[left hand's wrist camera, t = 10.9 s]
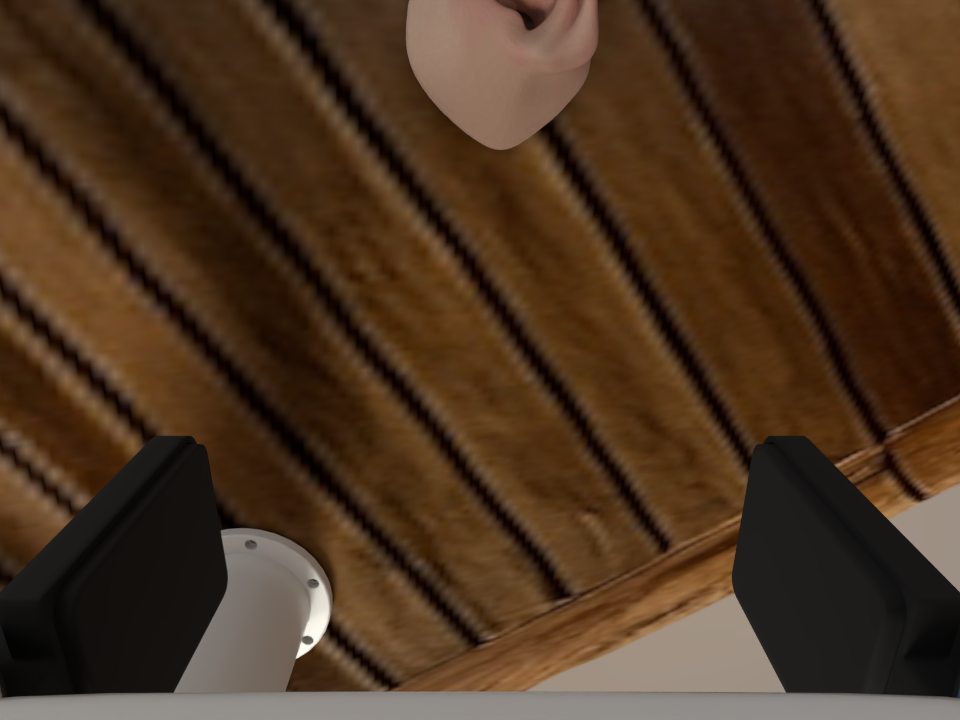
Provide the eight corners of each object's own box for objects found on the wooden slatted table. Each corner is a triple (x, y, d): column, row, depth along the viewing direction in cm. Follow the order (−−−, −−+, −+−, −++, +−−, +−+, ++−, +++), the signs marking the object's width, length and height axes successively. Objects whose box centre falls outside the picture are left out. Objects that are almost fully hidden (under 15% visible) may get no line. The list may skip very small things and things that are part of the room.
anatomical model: (546, 178, 36) (353, 82, 35) (539, 172, 40) (365, 85, 38) (670, -74, 32) (458, -198, 30) (650, -54, 36) (460, -164, 34)
